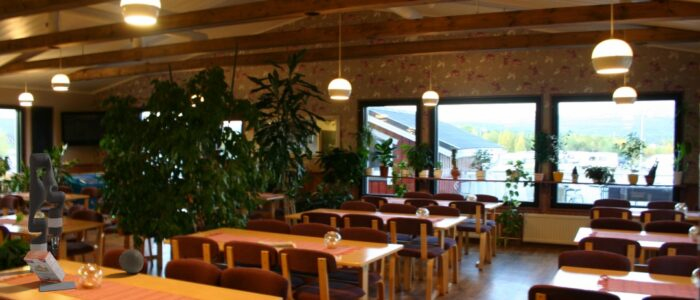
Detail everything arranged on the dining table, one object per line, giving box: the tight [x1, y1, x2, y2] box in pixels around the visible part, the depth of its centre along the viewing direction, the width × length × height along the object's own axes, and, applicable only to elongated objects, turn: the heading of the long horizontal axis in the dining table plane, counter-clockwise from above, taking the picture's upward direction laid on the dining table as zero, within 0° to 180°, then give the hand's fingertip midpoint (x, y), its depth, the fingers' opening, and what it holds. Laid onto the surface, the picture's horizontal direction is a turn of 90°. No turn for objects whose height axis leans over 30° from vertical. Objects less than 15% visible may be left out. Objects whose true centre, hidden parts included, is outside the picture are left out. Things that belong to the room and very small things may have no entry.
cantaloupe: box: [118, 248, 144, 274], centre depth 371 cm, size 14×14×15 cm
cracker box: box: [23, 250, 67, 283], centre depth 341 cm, size 14×6×21 cm
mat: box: [39, 280, 77, 293], centre depth 336 cm, size 18×18×1 cm
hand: (55, 255), depth 347 cm, fingers closed
